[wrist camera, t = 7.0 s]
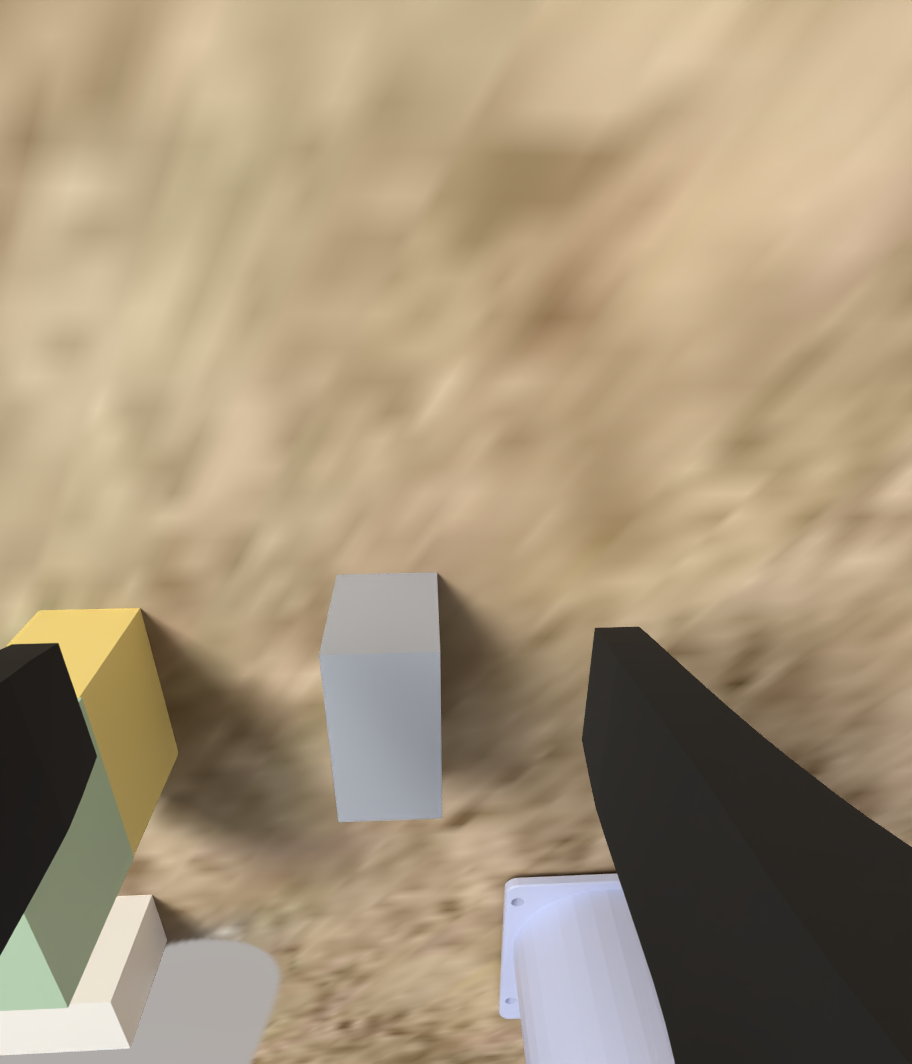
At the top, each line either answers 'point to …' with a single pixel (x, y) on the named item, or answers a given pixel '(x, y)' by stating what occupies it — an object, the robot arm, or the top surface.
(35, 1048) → the cream brick
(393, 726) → the grey brick
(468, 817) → the top surface
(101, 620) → the mustard brick
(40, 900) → the green brick
